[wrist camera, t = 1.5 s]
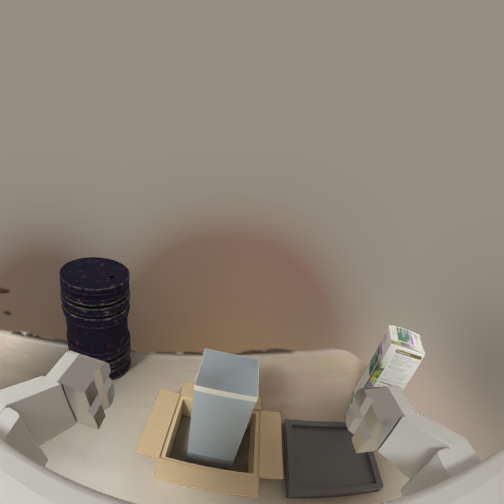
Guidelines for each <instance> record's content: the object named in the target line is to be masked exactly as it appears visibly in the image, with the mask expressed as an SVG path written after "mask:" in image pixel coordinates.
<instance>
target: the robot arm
mask: <svg viewBox="0 0 504 504" xmlns="http://www.w3.org/2000/svg"><path fill="white" fill-rule="evenodd" d="M110 373H111V370H110V366H109V364H108V363H107V362H104V361H101V360H98V359H95V358H92V357H89V356H86V355H83V354H79V353H76V352H73V351H71V350H70V351H67V352H66V353H65V354H64V355H63V356H62V357H61V359H60V360H59V361H58V362H57V363H56V364H55V366H54V367H53V368H52V369H51V370H50V371H49V373H48V374H47V375H46V376H45V377H43V376H39V377H37V378H34V379H31V380H28V381H25V382H22V383H19V384H16V385H13V386H10V387H7V388H4V389H1V390H0V504H136V503H132V502H129V501H125V500H122V499H119V498H116V497H113V496H110V495H107V494H105V493H102V492H99V491H97V490H94V489H91V488H89V487H87V486H84V485H82V484H79V483H77V482H75V481H73V480H70V479H68V478H66V477H64V476H62V475H60V474H58V473H56V472H54V471H52V470H50V469H48V468H46V467H45V464H46V462H47V460H48V459H47V456H46V455H45V454H44V452H43V451H42V449H41V448H40V447H39V446H40V445H42V444H43V443H45V442H47V441H48V440H50V439H52V438H53V437H55V436H57V435H58V434H60V433H62V432H63V431H65V430H67V429H68V428H70V427H71V426H73V425H75V424H76V422H78V423H81V424H84V425H87V426H89V427H92V428H95V429H99V427H100V425H101V423H102V421H103V419H104V417H105V413H104V409H106V408H108V407H110V405H111V403H112V401H113V397H114V384H113V381H112V380H111V379H110V377H109V374H110ZM354 398H355V400H356V401H355V402H353V403H352V404H351V405H350V406H349V408H348V410H347V412H346V426H347V429H348V430H349V431H350V432H351V433H353V434H354V435H353V437H352V439H351V440H352V443H353V445H354V448H355V451H356V453H363V452H370V451H376V450H378V452H379V453H380V454H381V455H382V456H383V457H384V458H386V459H387V460H388V461H389V462H390V463H391V464H393V465H394V466H395V467H396V468H397V469H398V470H400V471H401V472H402V473H403V474H404V475H406V476H407V477H408V478H409V479H410V481H409V482H408V483H406V484H405V485H404V486H403V487H402V489H401V493H402V496H403V497H402V498H399V499H395V500H392V501H389V502H386V503H382V504H504V448H502V449H501V450H499V451H497V452H496V453H494V454H493V455H491V456H490V457H488V458H486V459H485V460H483V461H480V459H479V457H478V456H477V454H476V453H475V451H474V450H473V448H472V446H471V445H470V444H469V442H468V440H467V439H466V438H464V437H462V436H460V435H458V434H456V433H455V432H453V431H451V430H449V429H447V428H445V427H443V426H442V425H440V424H438V423H436V422H435V421H433V420H431V419H429V418H427V417H426V416H424V415H422V414H417V413H416V412H415V410H414V408H413V407H412V405H411V404H410V402H409V400H408V399H407V397H406V396H405V394H404V393H403V391H402V389H401V388H400V387H399V386H398V385H390V386H384V387H383V386H382V387H372V388H360V389H359V390H357V391H356V393H355V395H354Z"/></svg>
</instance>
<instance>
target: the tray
mask: <svg viewBox="0 0 504 504" xmlns="http://www.w3.org/2000/svg"><path fill="white" fill-rule="evenodd" d="M283 430H284V449H285V470H286V494H287V498H320V497H335V496H345V495H354V494H362V493H368V492H375V491H379V490H380V489H381V488H383V484H382V480H381V477H380V473H379V470H378V467H377V463H376V460H375V457H374V453H373V451H370V452H363V453H356V451H355V448H354V445H353V443H352V440H351V439H352V437H353V435H354V434H353V433H351V432H350V431H349V430H348V429H347V426H346V423H342V422H312V421H297V420H285V422H284V424H283Z"/></svg>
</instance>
